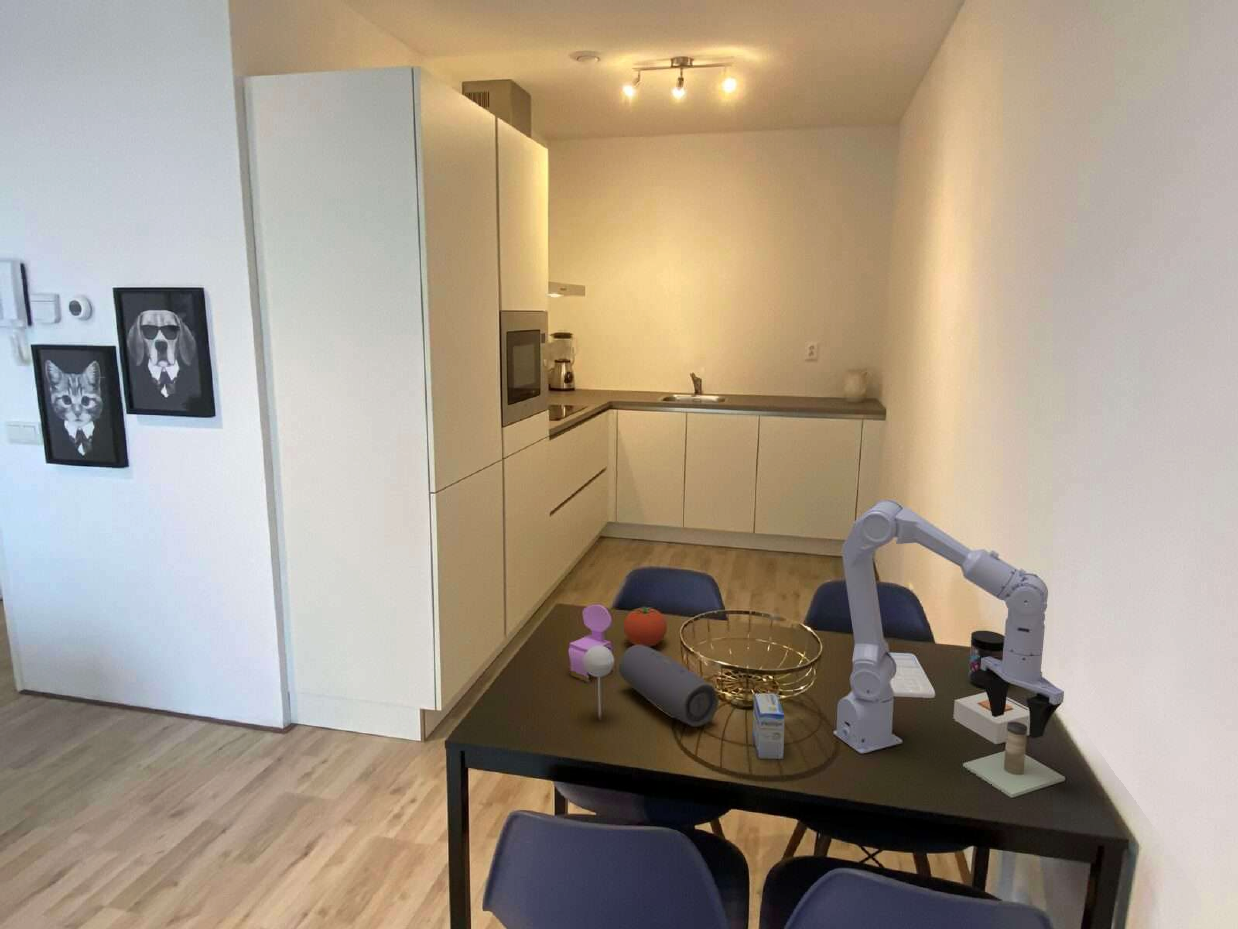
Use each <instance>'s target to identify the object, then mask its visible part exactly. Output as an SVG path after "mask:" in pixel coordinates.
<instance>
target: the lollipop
mask: <svg viewBox="0 0 1238 929" xmlns="http://www.w3.org/2000/svg"><path fill="white" fill-rule="evenodd" d="M583 664H584V667H585V669H586V671H587V673H588V675H590V676H592V677H595V678H597V696H598V699H597V700H598V701H597V702H598V703H597V704H598V706H597V707H598V716H599V715H601V716H602V708H601V707H602V699H601V697H602V696H601V678H602V677H605V676H608V675H609V674H610V673H611V672H612V671H613V670H612V668H613V665H614V666H615V657H614V654H613V653H612V650H611V651H610V650H609V649H608V648H606V647H604V646H594V647H592V648H590V649H589V650H588V651H587V652H586V654H585V656H584V657H583Z"/></svg>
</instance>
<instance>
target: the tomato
mask: <svg viewBox="0 0 1238 929" xmlns="http://www.w3.org/2000/svg"><path fill="white" fill-rule="evenodd" d="M623 631H624V634H625V637H626V638H627V639H628V641H629V642H631V643H632V644H633V645H644V646H647V647H649V648H652V647H653V646H655V645H657V644H658V645H659V643H660V642H661V641H662V640H663V639H664V637H665V635H666V632H667V622H666V619H665V617H664V615H663V614H662V613H661V612H660V611H659V610H657V609H655V608H653V607H649V606H648V607H646V605H644V606H640V607H639V608H634V609H631V611H630V612H628V614H627V616H626V617H625V620H624V622H623Z"/></svg>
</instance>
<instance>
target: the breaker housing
mask: <svg viewBox="0 0 1238 929" xmlns="http://www.w3.org/2000/svg"><path fill="white" fill-rule="evenodd" d="M986 700H989V699H988V696H987V693H986V691H985V692H981V693H977V694H975V695H974V694H973V695H969V696H966V697H962V698H958V699H955V700H954V707H953V708H954V709H953V719H955V720H954V721H955V722H957V723H958V722H959V724H960V725H962V726H964V727H965V728H967V729H969V730H970V731H972V732H974V733H976V734H978V735H979V736H981V737H982V738H985V739H986V740H988V741H989V742H991V743H993V744H995V745H999V744H1003V743H1006V734H1007V723H1008V722H1019V723H1022V724H1024V725H1026V726H1027V736H1030V733H1029V728H1030V713H1029V708H1028V706H1025V705H1024V704H1021V703H1019V702H1017V701H1015V700H1014V699H1012V698H1009V697H1008V696H1007V697H1006V704H1007V705H1009V706H1011V707H1012V710H1010V711H1007V712H1004V715H1001V716H998V717H994V716H992V713H991V711H989V710H988V709H986V708H984V707H982V706H980V705H979V702H982V701H986Z"/></svg>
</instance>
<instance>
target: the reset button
mask: <svg viewBox="0 0 1238 929" xmlns="http://www.w3.org/2000/svg"><path fill="white" fill-rule="evenodd" d="M979 705H980V706H982V707H984V708H986V709H988V710H989V711H991V708H990V703H989V700H986V701H982V702H979ZM1010 710H1012V707H1011V706H1009V705H1007V704H1006V706H1005V712H1007V711H1010Z"/></svg>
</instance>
